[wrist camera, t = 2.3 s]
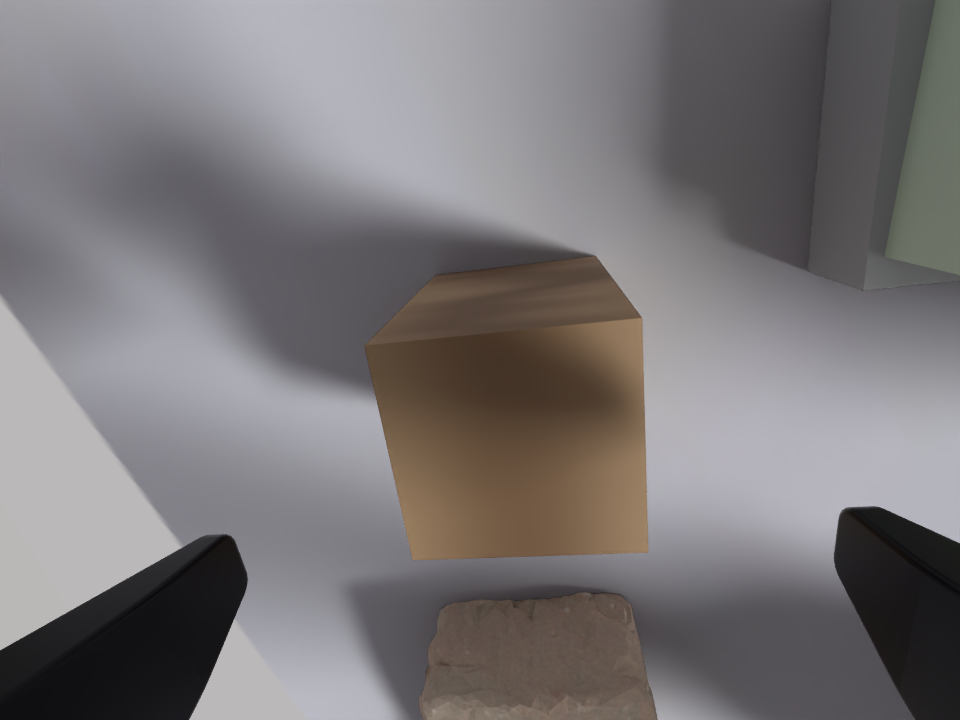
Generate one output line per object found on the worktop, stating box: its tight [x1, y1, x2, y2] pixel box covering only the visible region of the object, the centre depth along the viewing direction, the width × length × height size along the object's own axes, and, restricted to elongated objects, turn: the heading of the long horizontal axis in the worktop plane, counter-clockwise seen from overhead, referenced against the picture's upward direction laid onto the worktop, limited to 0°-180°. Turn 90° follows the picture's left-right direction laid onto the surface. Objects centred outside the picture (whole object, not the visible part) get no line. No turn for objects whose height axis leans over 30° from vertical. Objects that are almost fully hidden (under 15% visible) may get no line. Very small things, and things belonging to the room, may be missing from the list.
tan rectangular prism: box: [364, 256, 648, 560], centre depth 13 cm, size 5×5×7 cm
